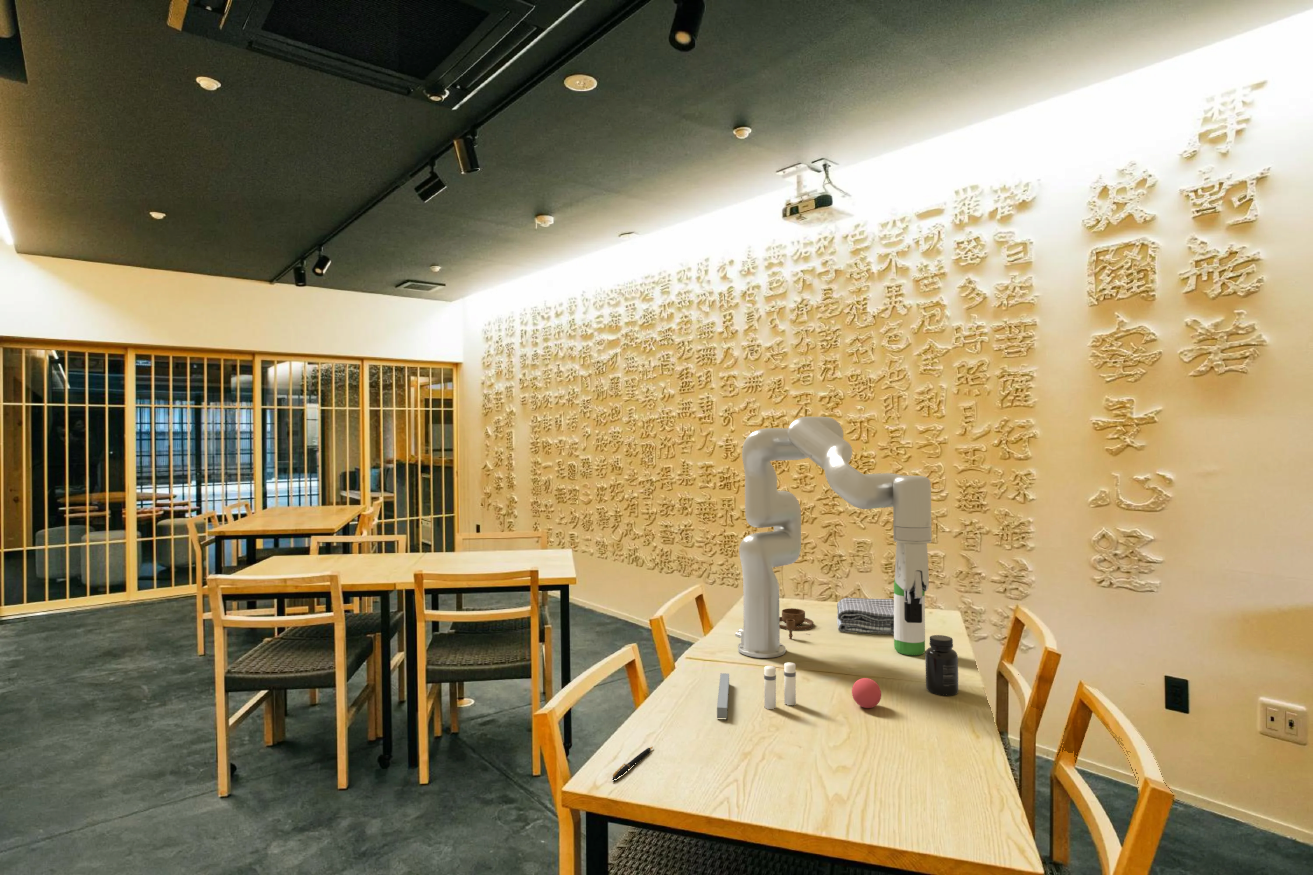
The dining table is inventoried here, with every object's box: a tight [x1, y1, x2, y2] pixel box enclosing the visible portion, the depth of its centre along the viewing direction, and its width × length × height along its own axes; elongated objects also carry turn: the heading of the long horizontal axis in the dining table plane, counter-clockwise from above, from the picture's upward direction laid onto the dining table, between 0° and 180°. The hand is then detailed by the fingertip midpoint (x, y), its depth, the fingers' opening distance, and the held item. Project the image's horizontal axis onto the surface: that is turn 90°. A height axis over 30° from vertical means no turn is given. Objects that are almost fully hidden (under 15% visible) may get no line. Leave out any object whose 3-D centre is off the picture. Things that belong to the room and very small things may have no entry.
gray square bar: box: [716, 672, 730, 719], centre depth 149 cm, size 20×2×2 cm, turn 173°
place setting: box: [779, 607, 814, 640], centre depth 205 cm, size 18×20×6 cm
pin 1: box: [763, 665, 777, 710], centre depth 146 cm, size 2×2×8 cm
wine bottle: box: [893, 578, 926, 656], centre depth 182 cm, size 8×8×30 cm
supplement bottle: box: [924, 634, 959, 697], centre depth 154 cm, size 7×7×12 cm
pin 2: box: [783, 661, 797, 706], centre depth 148 cm, size 2×2×8 cm
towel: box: [836, 597, 894, 636], centre depth 205 cm, size 15×18×8 cm
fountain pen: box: [611, 745, 654, 780], centre depth 121 cm, size 14×1×2 cm, turn 152°
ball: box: [851, 677, 882, 709], centre depth 146 cm, size 6×6×6 cm
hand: (913, 621), depth 144 cm, fingers closed
